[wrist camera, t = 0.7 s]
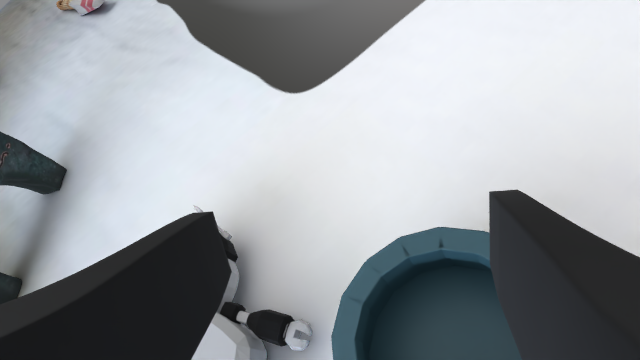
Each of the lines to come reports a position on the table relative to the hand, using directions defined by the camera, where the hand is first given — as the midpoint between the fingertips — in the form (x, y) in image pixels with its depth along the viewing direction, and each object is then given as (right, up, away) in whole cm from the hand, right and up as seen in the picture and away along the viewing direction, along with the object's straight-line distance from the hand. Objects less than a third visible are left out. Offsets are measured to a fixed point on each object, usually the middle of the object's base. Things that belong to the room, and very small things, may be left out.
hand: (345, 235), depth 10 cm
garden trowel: (-46, +35, +68) cm, 90 cm away
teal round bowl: (+7, -9, +12) cm, 17 cm away
